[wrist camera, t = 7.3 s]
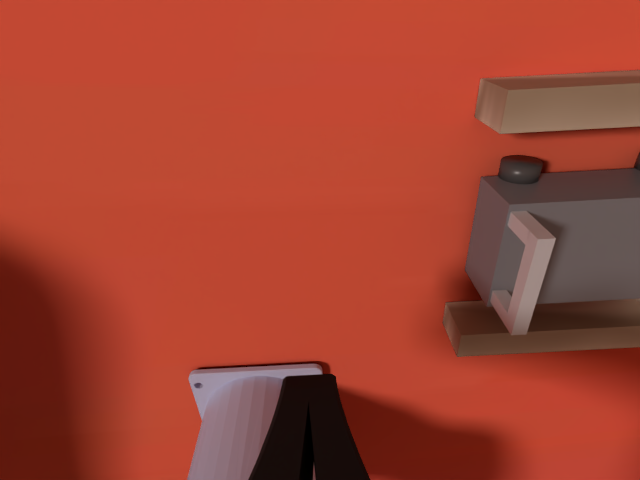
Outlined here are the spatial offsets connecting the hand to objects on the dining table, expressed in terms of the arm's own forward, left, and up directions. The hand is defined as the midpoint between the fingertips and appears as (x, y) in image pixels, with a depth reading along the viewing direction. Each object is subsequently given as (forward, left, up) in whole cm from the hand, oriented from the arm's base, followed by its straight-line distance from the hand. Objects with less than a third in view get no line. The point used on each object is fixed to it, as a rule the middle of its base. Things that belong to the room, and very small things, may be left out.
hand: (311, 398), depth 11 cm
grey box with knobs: (0, -12, -9) cm, 15 cm away
